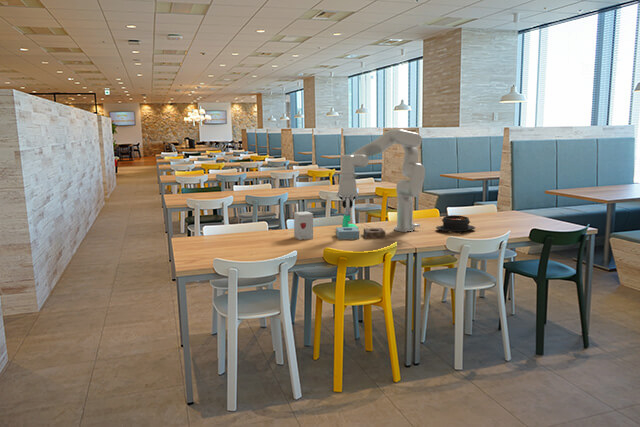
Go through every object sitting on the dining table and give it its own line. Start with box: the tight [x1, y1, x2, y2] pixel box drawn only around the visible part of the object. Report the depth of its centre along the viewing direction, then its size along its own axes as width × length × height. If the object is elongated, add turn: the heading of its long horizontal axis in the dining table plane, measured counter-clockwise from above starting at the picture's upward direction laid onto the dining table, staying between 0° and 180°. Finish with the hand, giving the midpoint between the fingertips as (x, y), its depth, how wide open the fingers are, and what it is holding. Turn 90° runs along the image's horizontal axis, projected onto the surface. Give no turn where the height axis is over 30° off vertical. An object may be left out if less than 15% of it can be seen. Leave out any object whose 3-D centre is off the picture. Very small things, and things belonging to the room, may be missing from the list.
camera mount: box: [341, 213, 359, 230], centre depth 306 cm, size 12×8×10 cm, turn 10°
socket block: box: [335, 226, 360, 240], centre depth 288 cm, size 12×12×4 cm
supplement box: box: [293, 211, 314, 241], centre depth 285 cm, size 9×9×15 cm
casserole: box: [435, 214, 476, 233], centre depth 302 cm, size 25×19×8 cm
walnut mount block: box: [363, 227, 386, 239], centre depth 289 cm, size 11×11×4 cm
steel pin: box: [344, 196, 351, 217], centre depth 285 cm, size 3×3×11 cm
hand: (347, 207), depth 285 cm, fingers closed on steel pin, 3 cm apart
